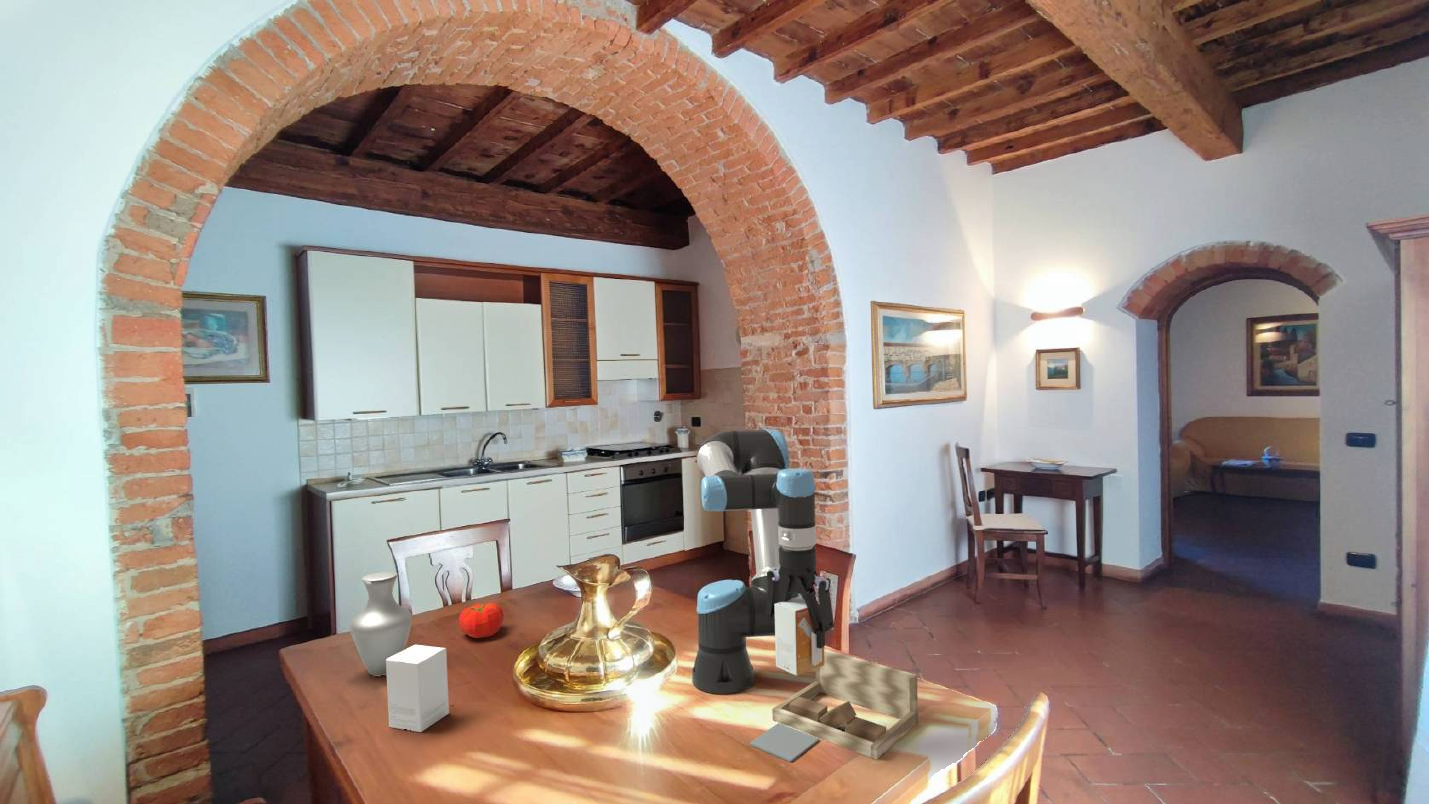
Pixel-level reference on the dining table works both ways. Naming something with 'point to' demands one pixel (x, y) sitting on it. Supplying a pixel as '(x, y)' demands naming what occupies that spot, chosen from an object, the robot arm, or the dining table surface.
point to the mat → (784, 742)
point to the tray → (858, 700)
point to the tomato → (481, 620)
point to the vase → (380, 624)
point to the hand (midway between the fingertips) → (799, 658)
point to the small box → (794, 637)
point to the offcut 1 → (808, 708)
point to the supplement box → (417, 687)
